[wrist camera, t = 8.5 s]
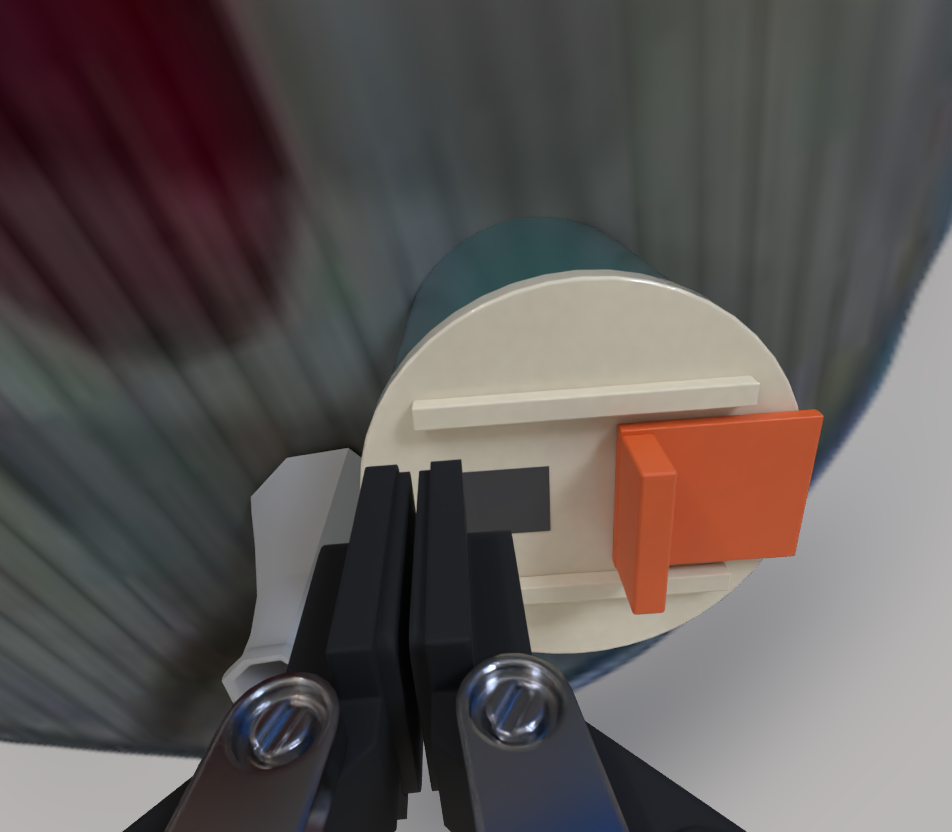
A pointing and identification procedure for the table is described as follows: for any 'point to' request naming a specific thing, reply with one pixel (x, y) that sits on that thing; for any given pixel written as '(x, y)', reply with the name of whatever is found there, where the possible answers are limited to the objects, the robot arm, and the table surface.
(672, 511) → the slider
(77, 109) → the table surface
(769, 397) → the sliding lid canister
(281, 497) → the flask
